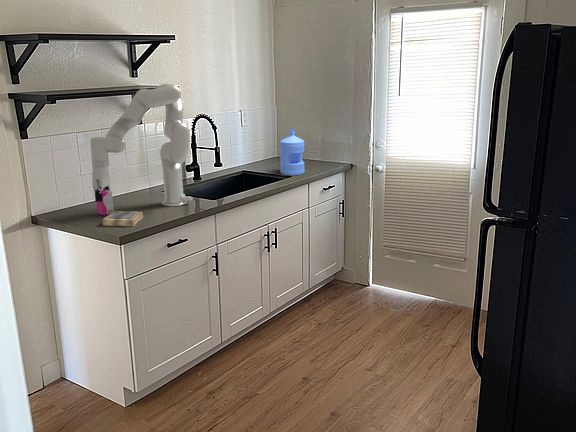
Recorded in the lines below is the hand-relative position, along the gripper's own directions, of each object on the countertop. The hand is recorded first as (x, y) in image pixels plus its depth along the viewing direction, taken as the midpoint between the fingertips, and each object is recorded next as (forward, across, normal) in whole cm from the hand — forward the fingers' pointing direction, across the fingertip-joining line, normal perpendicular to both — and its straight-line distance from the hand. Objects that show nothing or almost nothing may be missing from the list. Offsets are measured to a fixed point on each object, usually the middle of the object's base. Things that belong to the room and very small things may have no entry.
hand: (103, 199), depth 267 cm
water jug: (+4, -100, +85) cm, 131 cm away
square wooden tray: (+7, +12, +14) cm, 19 cm away
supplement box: (+8, 0, +1) cm, 8 cm away
